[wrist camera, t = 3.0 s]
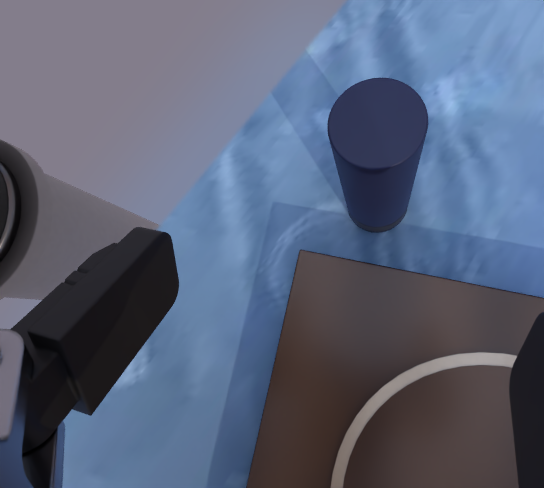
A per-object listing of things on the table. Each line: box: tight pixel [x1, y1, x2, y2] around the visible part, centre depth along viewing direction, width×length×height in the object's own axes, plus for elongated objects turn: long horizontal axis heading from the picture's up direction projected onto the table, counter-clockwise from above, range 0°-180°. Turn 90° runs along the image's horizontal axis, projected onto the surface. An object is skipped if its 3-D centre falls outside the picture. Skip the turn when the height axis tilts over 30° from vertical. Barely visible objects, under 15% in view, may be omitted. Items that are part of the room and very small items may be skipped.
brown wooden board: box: [246, 250, 544, 488], centre depth 18 cm, size 18×16×1 cm
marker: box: [328, 78, 428, 232], centre depth 17 cm, size 3×3×9 cm
